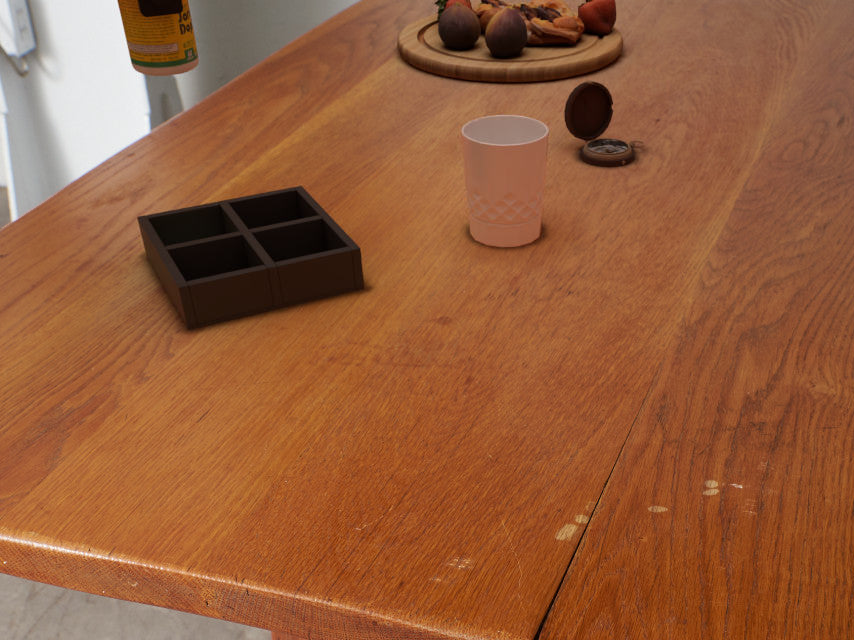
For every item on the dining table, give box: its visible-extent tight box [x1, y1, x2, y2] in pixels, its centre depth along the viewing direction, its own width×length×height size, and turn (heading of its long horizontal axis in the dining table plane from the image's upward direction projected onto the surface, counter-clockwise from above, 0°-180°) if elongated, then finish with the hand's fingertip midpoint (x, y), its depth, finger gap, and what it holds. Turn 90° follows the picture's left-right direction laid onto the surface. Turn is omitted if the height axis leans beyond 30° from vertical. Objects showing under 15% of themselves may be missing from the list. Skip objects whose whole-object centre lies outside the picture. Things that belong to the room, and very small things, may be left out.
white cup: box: [460, 114, 550, 248], centre depth 94 cm, size 8×8×10 cm
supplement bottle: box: [117, 0, 200, 77], centre depth 80 cm, size 5×5×10 cm
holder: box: [136, 185, 365, 331], centre depth 89 cm, size 15×15×4 cm
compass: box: [563, 80, 646, 168], centre depth 111 cm, size 8×8×7 cm
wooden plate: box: [396, 0, 624, 83], centre depth 142 cm, size 32×32×8 cm
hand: (152, 2), depth 80 cm, fingers closed on supplement bottle, 5 cm apart
